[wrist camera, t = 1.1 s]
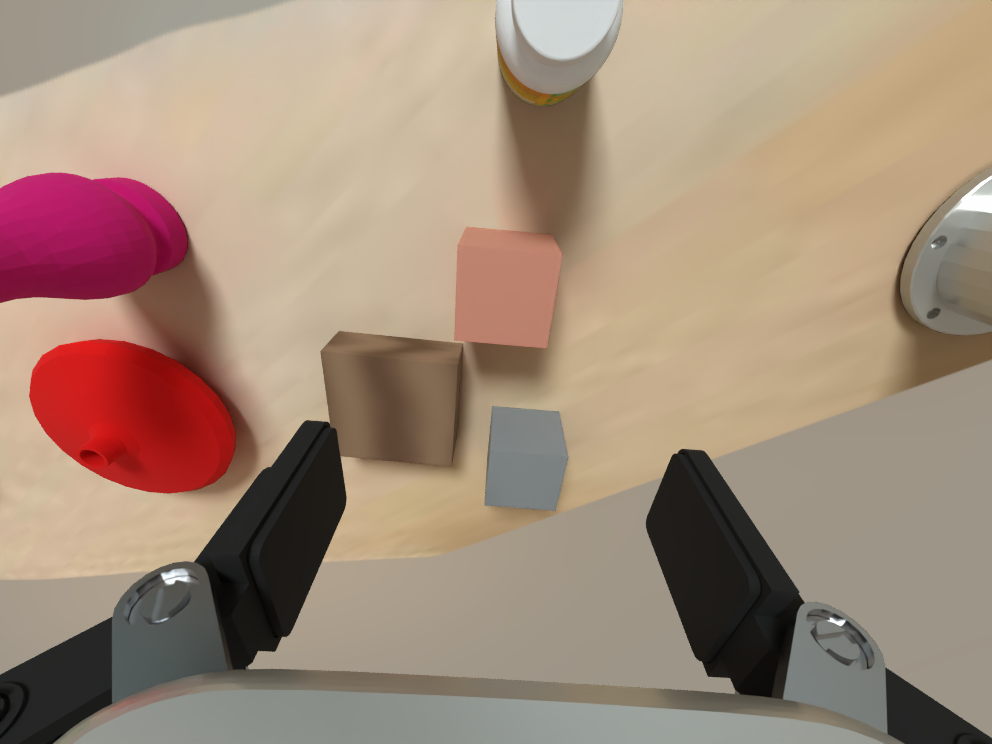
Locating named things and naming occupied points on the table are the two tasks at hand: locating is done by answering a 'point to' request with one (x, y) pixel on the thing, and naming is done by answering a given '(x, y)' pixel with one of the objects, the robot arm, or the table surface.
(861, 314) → the table surface
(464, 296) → the salmon pink cube
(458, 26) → the table surface
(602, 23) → the supplement bottle
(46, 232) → the pepper mill
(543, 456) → the grey cube
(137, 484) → the flat cone with hole
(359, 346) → the walnut block
